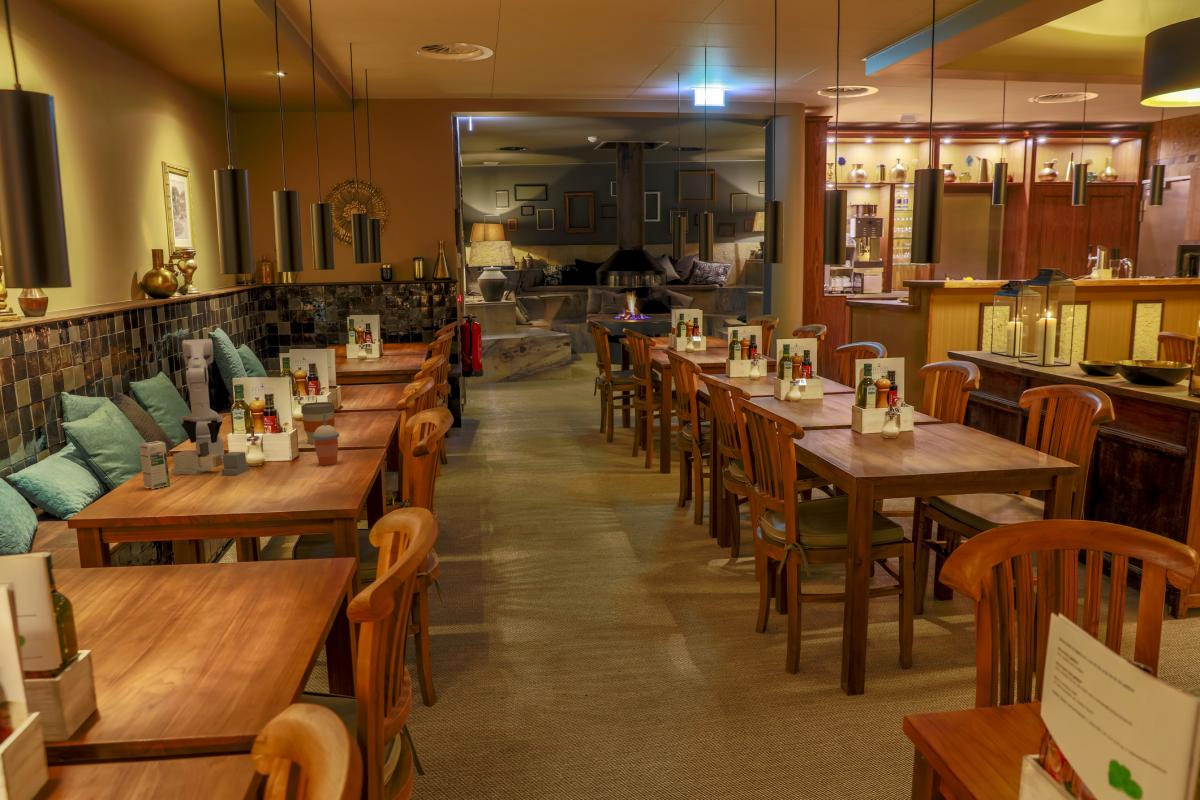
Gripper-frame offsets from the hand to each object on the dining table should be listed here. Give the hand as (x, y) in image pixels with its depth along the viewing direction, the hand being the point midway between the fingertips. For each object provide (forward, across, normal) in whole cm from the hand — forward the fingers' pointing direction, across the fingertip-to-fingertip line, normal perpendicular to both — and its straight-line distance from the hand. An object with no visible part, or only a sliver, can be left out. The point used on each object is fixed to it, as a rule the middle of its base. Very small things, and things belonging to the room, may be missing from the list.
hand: (203, 442), depth 298 cm
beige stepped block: (+10, -6, 0) cm, 12 cm away
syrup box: (+11, -5, -20) cm, 23 cm away
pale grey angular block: (+8, -2, 0) cm, 8 cm away
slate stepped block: (+10, +11, 0) cm, 15 cm away
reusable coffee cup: (+11, +17, +50) cm, 54 cm away
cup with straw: (+11, +37, +14) cm, 41 cm away
